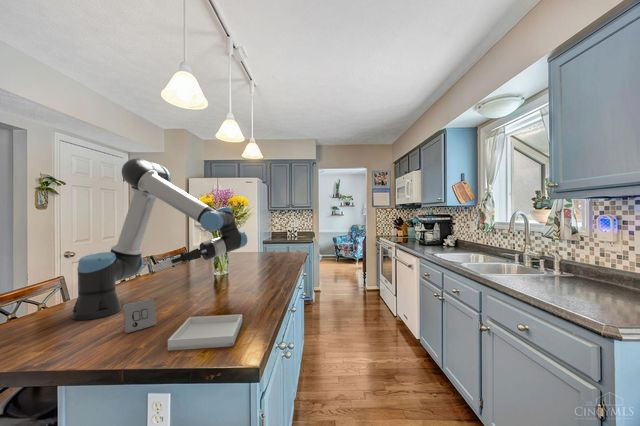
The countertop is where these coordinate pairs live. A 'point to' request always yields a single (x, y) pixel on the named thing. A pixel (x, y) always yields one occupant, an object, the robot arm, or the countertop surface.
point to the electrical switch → (139, 315)
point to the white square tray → (206, 332)
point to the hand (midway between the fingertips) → (157, 267)
